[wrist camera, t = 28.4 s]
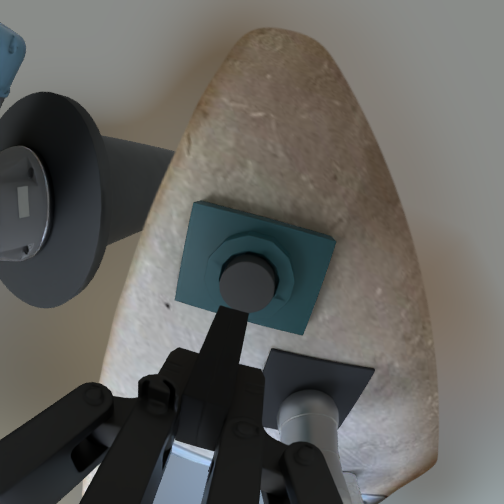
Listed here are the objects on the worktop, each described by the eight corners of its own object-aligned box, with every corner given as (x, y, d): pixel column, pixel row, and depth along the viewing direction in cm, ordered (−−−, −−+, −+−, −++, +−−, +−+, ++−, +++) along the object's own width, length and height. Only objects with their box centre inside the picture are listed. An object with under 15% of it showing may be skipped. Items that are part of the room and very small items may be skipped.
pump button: (219, 294, 23) (214, 304, 21) (230, 248, 22) (225, 254, 20) (267, 307, 23) (266, 319, 21) (281, 261, 22) (281, 270, 20)
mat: (243, 420, 31) (243, 422, 31) (271, 348, 28) (271, 350, 27) (332, 434, 31) (332, 437, 30) (374, 368, 28) (375, 370, 27)
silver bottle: (329, 419, 29) (346, 564, 10) (274, 418, 30) (263, 569, 11) (340, 381, 28) (374, 548, 9) (279, 380, 28) (271, 557, 9)
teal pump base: (182, 291, 27) (167, 308, 23) (200, 200, 25) (186, 204, 21) (301, 324, 27) (304, 346, 23) (331, 236, 25) (341, 246, 21)
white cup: (368, 471, 33) (377, 517, 23) (342, 491, 35) (347, 533, 25) (328, 467, 33) (333, 518, 23) (304, 488, 35) (305, 533, 25)
